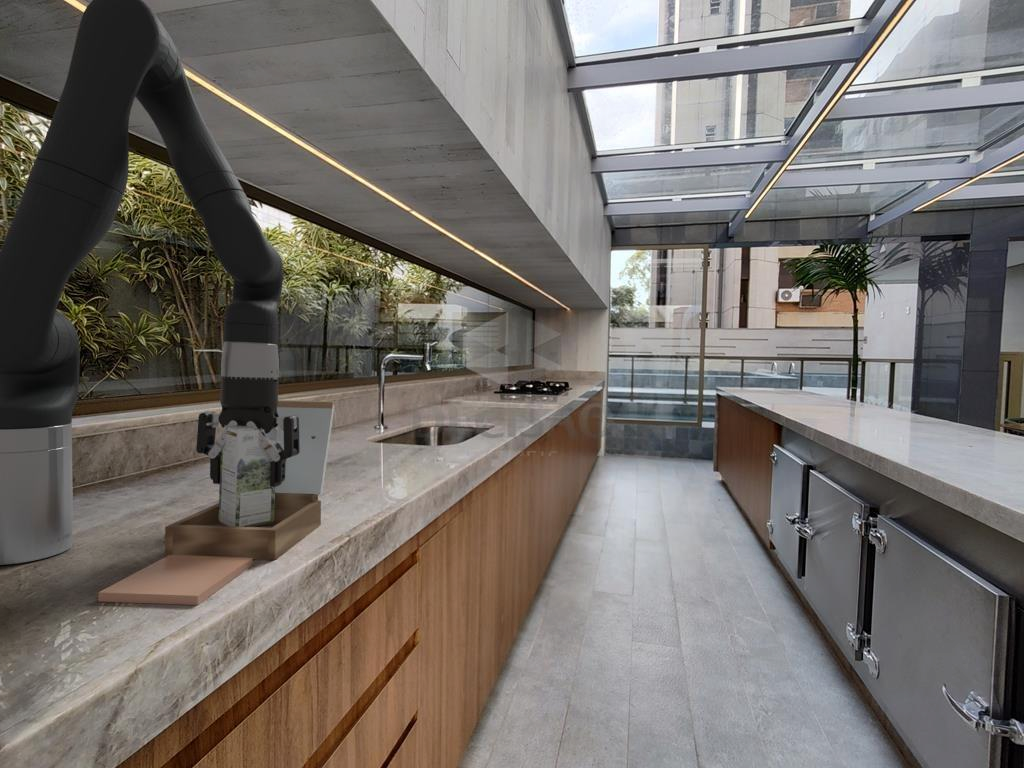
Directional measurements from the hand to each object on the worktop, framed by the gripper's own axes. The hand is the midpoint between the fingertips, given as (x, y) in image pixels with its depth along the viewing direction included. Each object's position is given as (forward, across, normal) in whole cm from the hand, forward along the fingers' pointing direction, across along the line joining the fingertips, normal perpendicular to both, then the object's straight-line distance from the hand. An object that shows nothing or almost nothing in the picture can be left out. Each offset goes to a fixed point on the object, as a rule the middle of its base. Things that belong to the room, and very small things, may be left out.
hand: (247, 484), depth 76 cm
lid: (+3, 0, +10) cm, 11 cm away
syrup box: (+6, 0, 0) cm, 6 cm away
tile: (+8, 0, -15) cm, 17 cm away
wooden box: (+8, 0, +2) cm, 8 cm away
